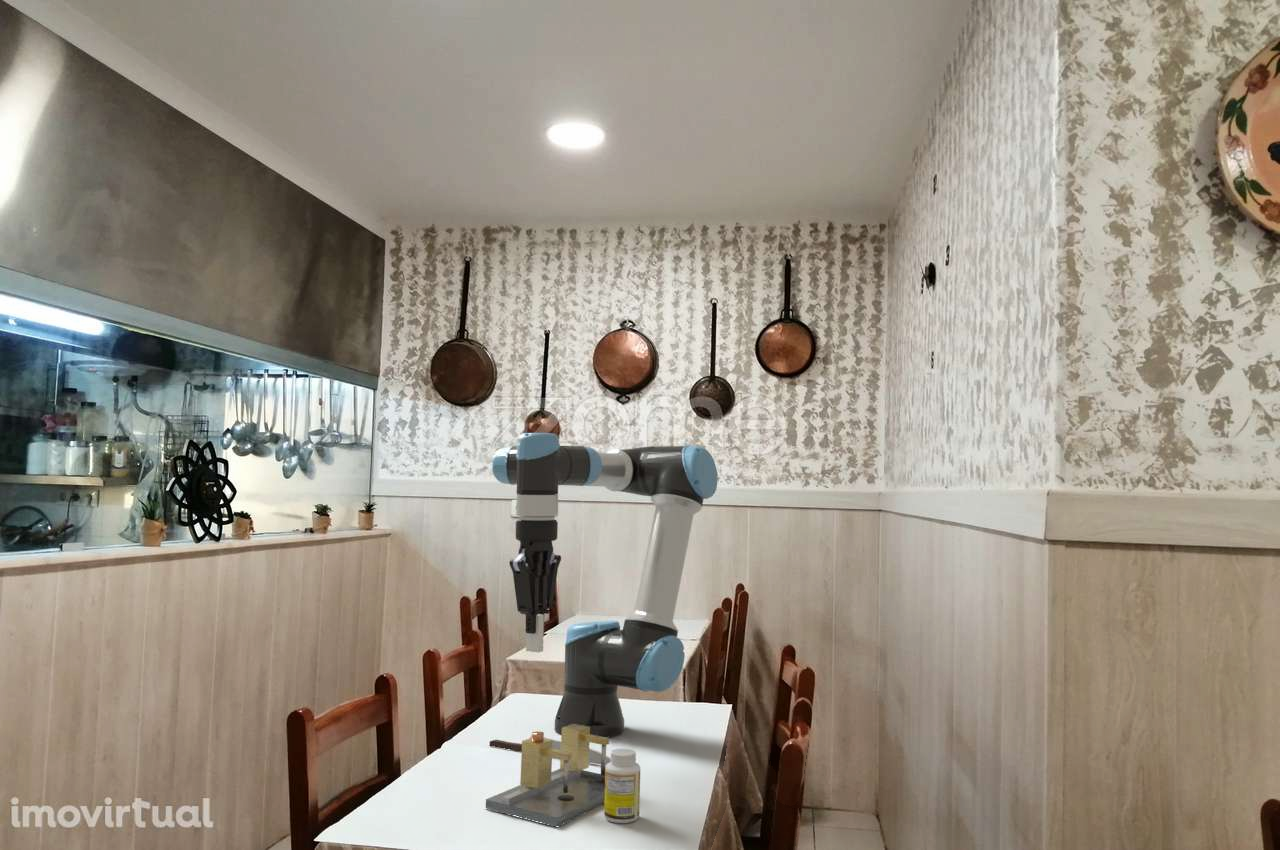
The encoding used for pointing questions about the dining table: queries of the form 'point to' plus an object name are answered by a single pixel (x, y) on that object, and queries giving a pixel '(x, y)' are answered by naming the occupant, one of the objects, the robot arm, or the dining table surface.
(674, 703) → the dining table surface
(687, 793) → the dining table surface
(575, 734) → the fixed leg
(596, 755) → the kitchen knife
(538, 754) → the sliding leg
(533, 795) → the bolt plate
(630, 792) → the supplement bottle
